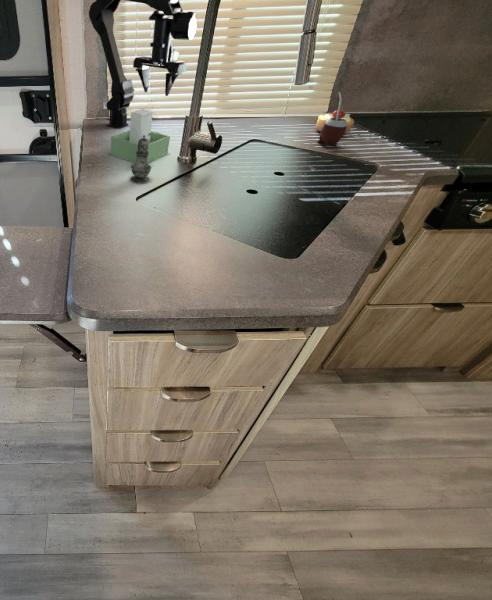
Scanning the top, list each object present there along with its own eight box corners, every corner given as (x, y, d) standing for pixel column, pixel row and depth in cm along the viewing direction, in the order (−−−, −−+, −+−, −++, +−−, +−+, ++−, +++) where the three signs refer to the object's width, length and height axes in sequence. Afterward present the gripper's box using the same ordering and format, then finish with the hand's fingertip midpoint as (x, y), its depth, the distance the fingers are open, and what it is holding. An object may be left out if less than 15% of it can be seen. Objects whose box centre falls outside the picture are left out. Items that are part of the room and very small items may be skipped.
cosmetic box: (138, 156, 106) (141, 114, 98) (127, 152, 109) (130, 112, 100) (149, 151, 110) (153, 110, 101) (139, 148, 112) (142, 108, 104)
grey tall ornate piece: (126, 177, 95) (129, 133, 87) (143, 174, 97) (148, 130, 89) (135, 185, 91) (139, 139, 83) (154, 181, 93) (159, 136, 85)
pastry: (311, 133, 125) (322, 107, 119) (315, 126, 132) (325, 100, 126) (347, 139, 120) (360, 111, 114) (348, 130, 128) (361, 104, 122)
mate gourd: (333, 149, 112) (356, 99, 102) (309, 143, 117) (330, 95, 106) (341, 144, 116) (365, 95, 106) (318, 139, 120) (339, 91, 110)
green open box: (110, 154, 109) (110, 136, 105) (135, 144, 116) (137, 127, 112) (142, 165, 102) (144, 146, 98) (167, 154, 109) (170, 136, 106)
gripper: (199, 38, 106) (190, 94, 117) (153, 35, 116) (148, 87, 126) (181, 41, 101) (173, 99, 111) (133, 37, 110) (130, 91, 121)
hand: (156, 93), depth 118 cm, fingers open, 9 cm apart
